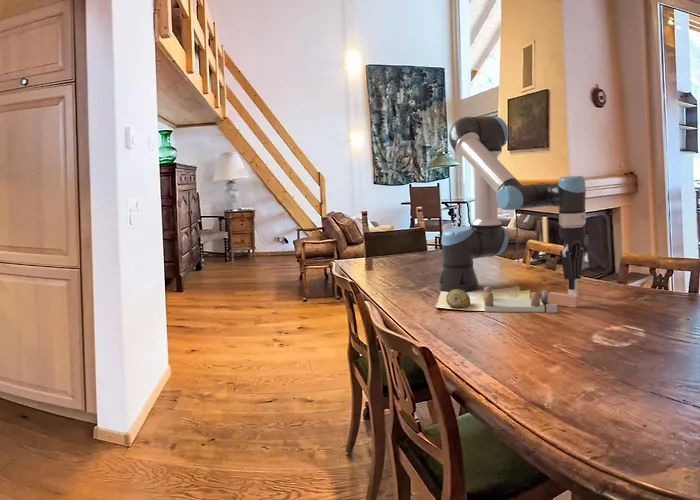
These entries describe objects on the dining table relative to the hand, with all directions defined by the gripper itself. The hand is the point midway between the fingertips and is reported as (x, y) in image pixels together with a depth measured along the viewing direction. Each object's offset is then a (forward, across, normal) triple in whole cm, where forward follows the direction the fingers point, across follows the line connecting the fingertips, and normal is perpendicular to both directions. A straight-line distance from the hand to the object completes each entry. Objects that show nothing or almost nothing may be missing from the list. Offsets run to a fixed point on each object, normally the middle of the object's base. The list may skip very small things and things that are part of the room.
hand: (573, 298), depth 156 cm
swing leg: (+2, -2, +4) cm, 5 cm away
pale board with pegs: (+2, -12, +12) cm, 17 cm away
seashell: (+2, -21, +30) cm, 36 cm away
